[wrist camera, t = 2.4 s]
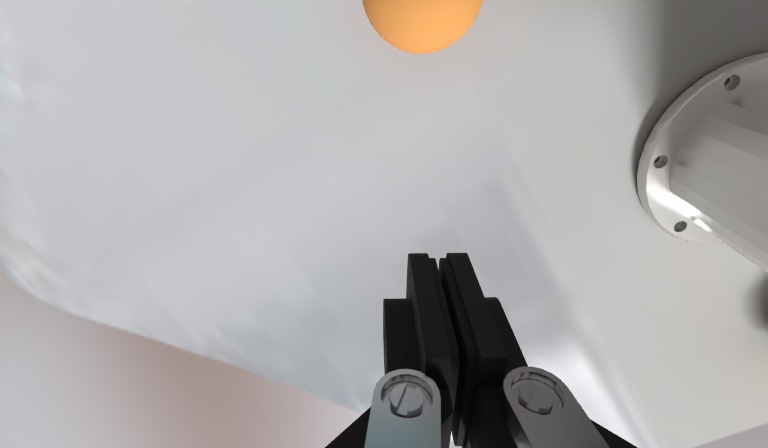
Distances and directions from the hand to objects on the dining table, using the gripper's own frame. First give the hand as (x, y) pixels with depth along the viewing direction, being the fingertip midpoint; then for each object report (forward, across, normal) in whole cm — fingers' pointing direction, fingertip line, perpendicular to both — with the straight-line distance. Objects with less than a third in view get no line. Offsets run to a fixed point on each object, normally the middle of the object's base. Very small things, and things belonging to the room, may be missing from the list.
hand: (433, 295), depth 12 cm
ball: (+13, -1, -8) cm, 16 cm away
